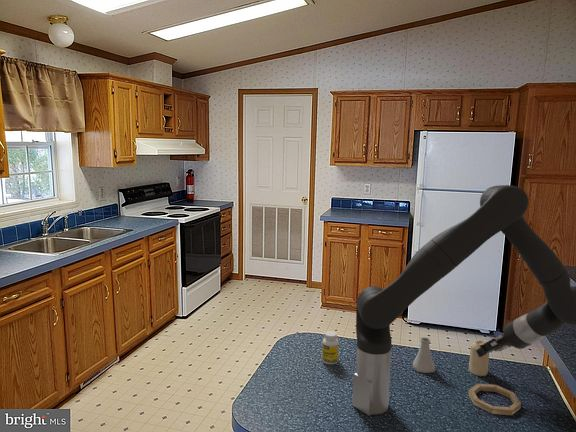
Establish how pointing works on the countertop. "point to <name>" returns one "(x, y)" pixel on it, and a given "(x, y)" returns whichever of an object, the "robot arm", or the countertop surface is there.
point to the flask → (424, 358)
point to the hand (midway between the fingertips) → (487, 351)
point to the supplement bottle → (330, 348)
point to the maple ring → (490, 408)
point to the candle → (478, 360)
